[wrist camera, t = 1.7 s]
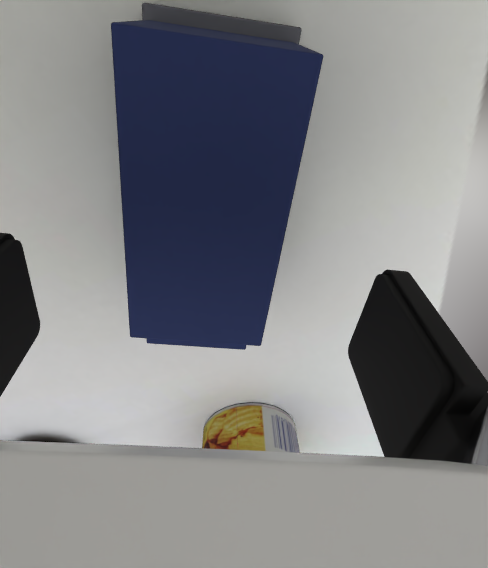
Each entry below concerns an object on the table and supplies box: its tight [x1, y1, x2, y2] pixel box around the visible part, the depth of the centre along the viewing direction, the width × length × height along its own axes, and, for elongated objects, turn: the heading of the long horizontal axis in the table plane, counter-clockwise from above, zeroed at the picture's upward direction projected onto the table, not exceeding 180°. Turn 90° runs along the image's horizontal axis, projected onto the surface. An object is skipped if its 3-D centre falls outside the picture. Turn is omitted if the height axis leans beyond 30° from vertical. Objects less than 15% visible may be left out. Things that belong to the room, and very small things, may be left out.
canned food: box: [202, 403, 300, 453], centre depth 27 cm, size 8×8×12 cm
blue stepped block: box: [111, 3, 323, 350], centre depth 17 cm, size 15×6×7 cm, turn 173°
